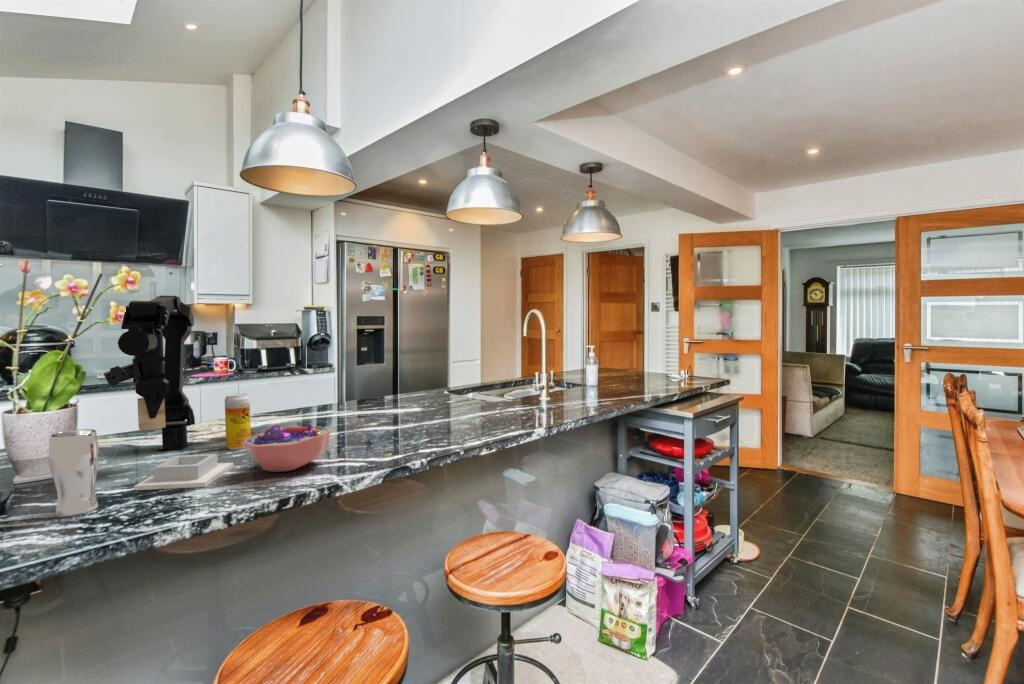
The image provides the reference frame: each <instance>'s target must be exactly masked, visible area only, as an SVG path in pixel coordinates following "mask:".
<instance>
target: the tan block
mask: <svg viewBox="0 0 1024 684" xmlns="http://www.w3.org/2000/svg"><path fill="white" fill-rule="evenodd" d="M136 399H137V419H138V420H137V421H138V422H137V423H138V429H139V431H145V430H154V429H155V428H156V429H162V428H163V427H166V424H165V400H164V399H163V402H162V404H161V406H160V408H159V411H158V413H157V415H156V418H153V419H150V418H149V414H148V411H147V407H146V404H145V400H144V398H143V397H137V398H136Z"/></svg>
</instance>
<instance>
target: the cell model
mask: <svg viewBox="0 0 1024 684" xmlns="http://www.w3.org/2000/svg"><path fill="white" fill-rule="evenodd" d="M330 436H331V430H330V429H329V428H326V427H322V426H321V425H320V426H319V425H317V426H312V424H308V425H307V426H298V427H297V426H296V427H295V426H294V427H293V426H292V427H290V426H289V427H281V426H280V424H273V425H271V426H270V427H268V428H267V429H266V430H265V431H263V432H260V433H257V434H254V435H251V437H248V438H246V439H245V440H243V441H242V444H243V446H244V447H245V450H246V452H247V453H248V455H249V456H250V457H251V458H252V459H253V460H254V461H255V462H256V464H258V465H259V466H260V467H261V468H262V469H263V470H265V471H266V472H267V471H268V472H272V473H273V472H274V473H283V472H284V473H285V472H289V471H294V470H296V469H298V468H301V467H303V466H305V465H307V464H309V463H310V462H312V461H315V459H317V458H318V457H320V456H321V455H322V454H323V453H324V452H325V451H326V450H327V448H328V447H329V444H330Z"/></svg>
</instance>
